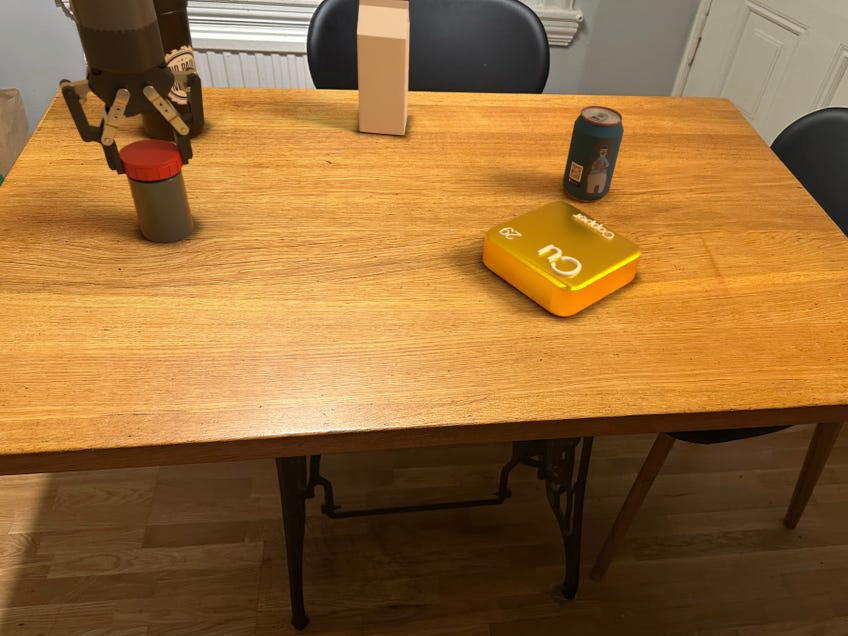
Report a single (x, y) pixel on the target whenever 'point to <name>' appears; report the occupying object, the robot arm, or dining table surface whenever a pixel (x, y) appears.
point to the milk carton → (383, 65)
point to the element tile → (561, 257)
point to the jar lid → (150, 159)
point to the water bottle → (172, 64)
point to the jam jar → (162, 208)
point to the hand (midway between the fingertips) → (152, 166)
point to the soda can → (593, 153)
